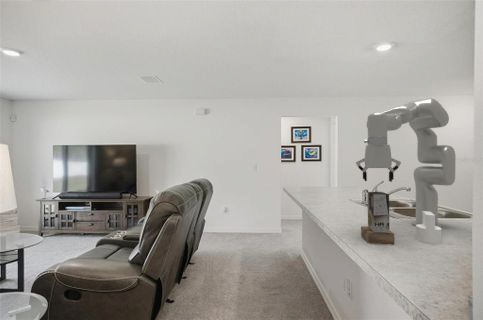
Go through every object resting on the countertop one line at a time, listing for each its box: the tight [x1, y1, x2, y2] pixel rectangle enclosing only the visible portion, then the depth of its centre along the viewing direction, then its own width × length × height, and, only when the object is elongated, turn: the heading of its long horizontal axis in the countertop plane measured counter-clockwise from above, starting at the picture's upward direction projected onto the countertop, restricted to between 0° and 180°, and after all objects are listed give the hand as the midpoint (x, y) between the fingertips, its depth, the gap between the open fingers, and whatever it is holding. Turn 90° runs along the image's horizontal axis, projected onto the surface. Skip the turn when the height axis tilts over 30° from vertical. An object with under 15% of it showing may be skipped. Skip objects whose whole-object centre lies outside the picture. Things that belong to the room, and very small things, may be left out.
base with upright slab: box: [415, 211, 443, 245], centre depth 111 cm, size 9×9×12 cm
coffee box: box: [366, 191, 391, 233], centre depth 111 cm, size 9×6×16 cm
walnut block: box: [360, 225, 395, 246], centre depth 112 cm, size 10×10×5 cm
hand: (377, 181), depth 112 cm, fingers open, 9 cm apart
